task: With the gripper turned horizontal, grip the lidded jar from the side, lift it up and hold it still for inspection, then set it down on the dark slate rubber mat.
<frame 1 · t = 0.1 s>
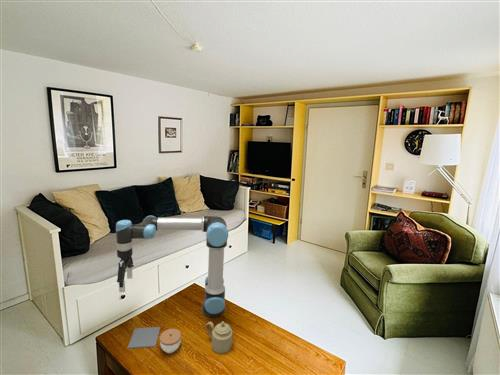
hand: (126, 284, 145), 28 cm above the table, tool pointing down, fingers open, 13 cm apart
lidded jar: (170, 348, 138), on the table
slate mat: (144, 337, 144), on the table
beige teapot: (218, 345, 142), on the table
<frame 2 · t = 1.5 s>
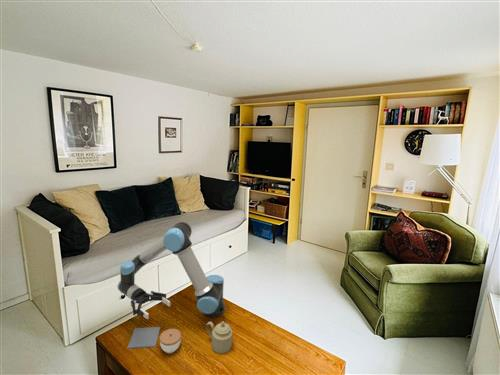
hand: (159, 310, 140), 18 cm above the table, tool horizontal, fingers open, 13 cm apart
nothing on the table moved.
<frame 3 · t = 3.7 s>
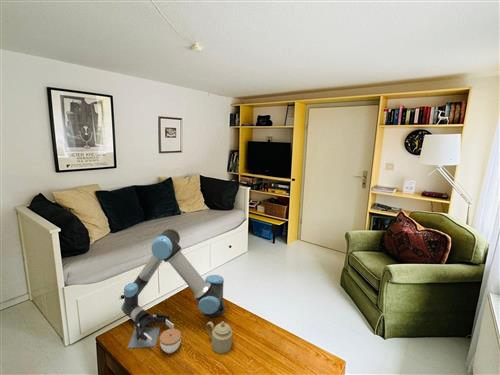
hand: (162, 333, 140), 6 cm above the table, tool horizontal, fingers open, 13 cm apart
nothing on the table moved.
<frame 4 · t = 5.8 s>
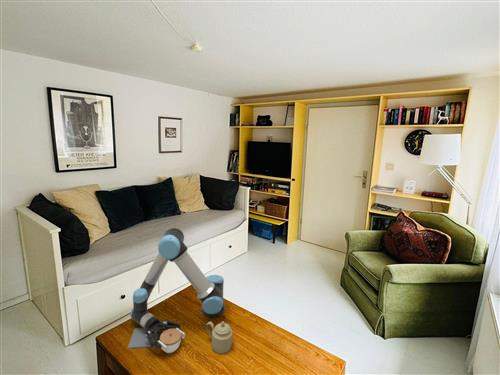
hand: (175, 342, 135), 6 cm above the table, tool horizontal, fingers closed on lidded jar, 11 cm apart
lidded jar: (170, 348, 138), on the table, touching gripper
everything else where it was.
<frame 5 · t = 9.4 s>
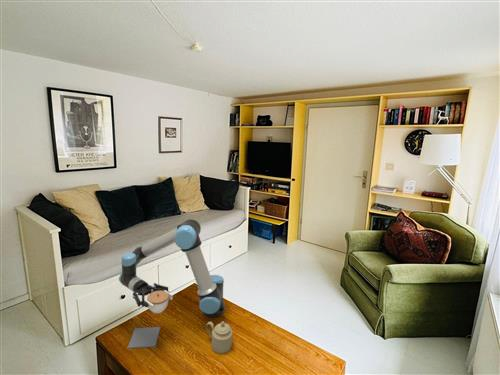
hand: (162, 302, 135), 26 cm above the table, tool horizontal, fingers closed on lidded jar, 11 cm apart
lidded jar: (158, 309, 138), point 20 cm above the table, touching gripper
everything else where it was.
when the fingers open (8 cm above the table, at t = 13.1 s): lidded jar drops 1 cm, resting on slate mat.
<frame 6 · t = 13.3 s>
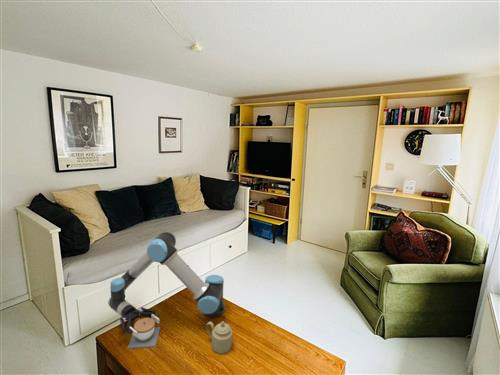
hand: (148, 327, 141), 8 cm above the table, tool horizontal, fingers open, 12 cm apart
lidded jar: (144, 336, 144), resting on slate mat
everything else where it was.
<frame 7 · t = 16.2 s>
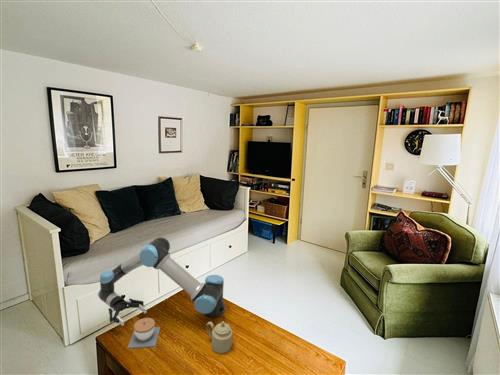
hand: (134, 317, 148), 8 cm above the table, tool horizontal, fingers open, 13 cm apart
nothing on the table moved.
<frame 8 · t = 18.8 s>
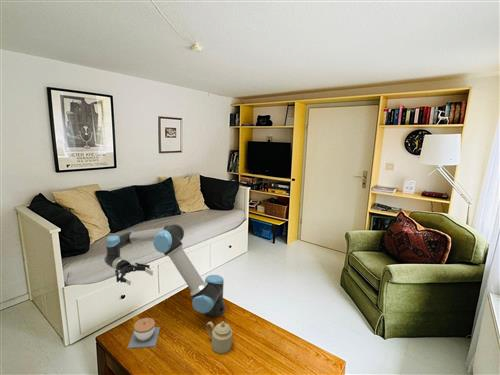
hand: (141, 277, 149), 30 cm above the table, tool horizontal, fingers open, 13 cm apart
nothing on the table moved.
at the end: lidded jar inside the target area on the slate mat (0.1 cm from its centre), point 0.4 cm above the slate mat's base; lidded jar tilted 0°; the gripper is holding nothing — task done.
